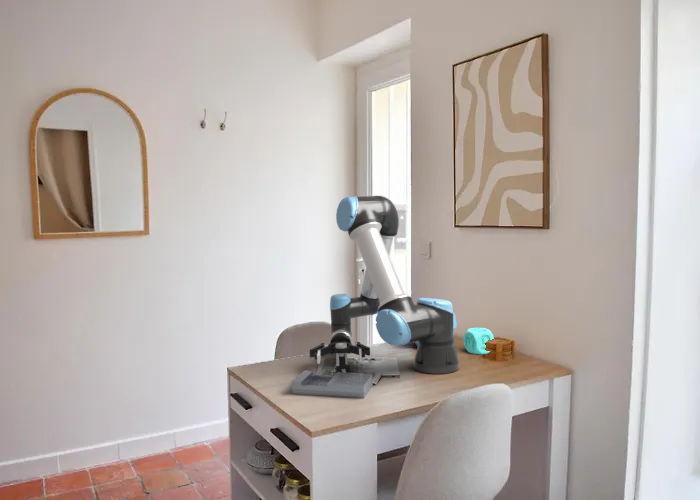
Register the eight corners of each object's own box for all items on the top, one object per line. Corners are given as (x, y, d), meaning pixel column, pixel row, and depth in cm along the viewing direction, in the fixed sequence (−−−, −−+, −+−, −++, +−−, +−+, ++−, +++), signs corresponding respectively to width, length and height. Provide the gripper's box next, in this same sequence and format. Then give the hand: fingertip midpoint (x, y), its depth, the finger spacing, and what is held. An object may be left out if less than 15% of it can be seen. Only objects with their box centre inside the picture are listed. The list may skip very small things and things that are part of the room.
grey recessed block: (372, 385, 170) (372, 373, 170) (364, 398, 159) (363, 385, 159) (304, 382, 176) (304, 370, 176) (292, 393, 165) (291, 381, 165)
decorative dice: (481, 347, 209) (480, 326, 209) (494, 352, 202) (494, 330, 201) (463, 350, 206) (463, 329, 205) (476, 355, 199) (476, 333, 198)
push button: (334, 378, 179) (333, 347, 178) (327, 373, 184) (326, 344, 183) (353, 374, 182) (352, 344, 181) (346, 370, 186) (344, 341, 186)
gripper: (375, 351, 200) (378, 369, 179) (306, 353, 201) (301, 371, 180) (375, 331, 200) (377, 346, 179) (305, 333, 200) (300, 348, 179)
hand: (339, 358), depth 179 cm, fingers open, 13 cm apart
